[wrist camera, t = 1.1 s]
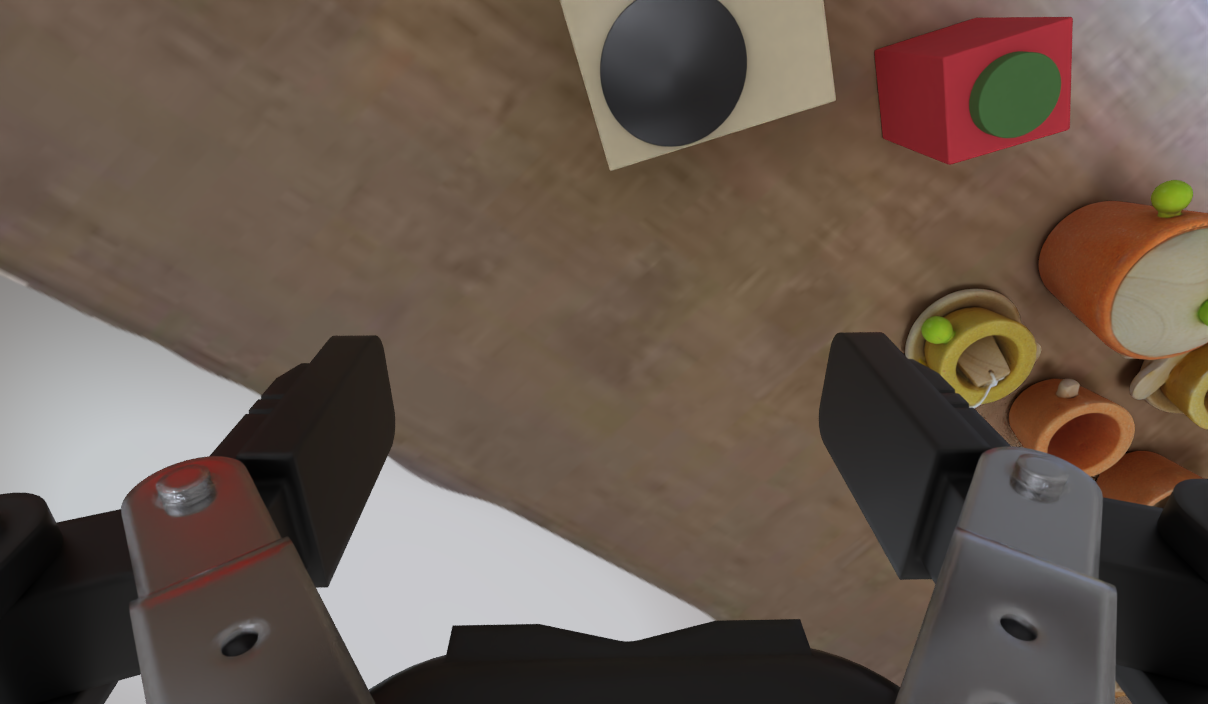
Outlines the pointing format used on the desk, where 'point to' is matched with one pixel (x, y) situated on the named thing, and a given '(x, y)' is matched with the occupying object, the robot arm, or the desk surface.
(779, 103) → the hob
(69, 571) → the robot arm
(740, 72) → the burner
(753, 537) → the desk surface
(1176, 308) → the toy tea set
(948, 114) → the red block green button
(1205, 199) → the desk surface
